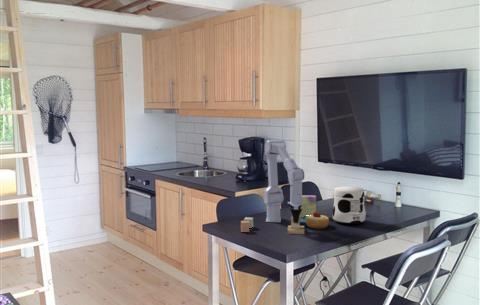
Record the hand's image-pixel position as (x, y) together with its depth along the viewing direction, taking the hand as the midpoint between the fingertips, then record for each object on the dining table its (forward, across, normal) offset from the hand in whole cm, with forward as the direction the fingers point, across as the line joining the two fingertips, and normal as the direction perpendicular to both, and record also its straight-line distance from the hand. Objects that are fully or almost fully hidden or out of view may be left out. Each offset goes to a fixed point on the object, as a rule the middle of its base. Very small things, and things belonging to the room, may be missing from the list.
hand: (295, 220), depth 217 cm
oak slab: (+6, 0, 0) cm, 6 cm away
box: (+6, -32, +6) cm, 33 cm away
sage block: (+6, -5, -24) cm, 25 cm away
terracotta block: (+6, +2, -25) cm, 26 cm away
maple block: (+3, 0, 0) cm, 4 cm away
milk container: (+6, -21, +28) cm, 35 cm away
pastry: (+6, -11, +11) cm, 16 cm away
